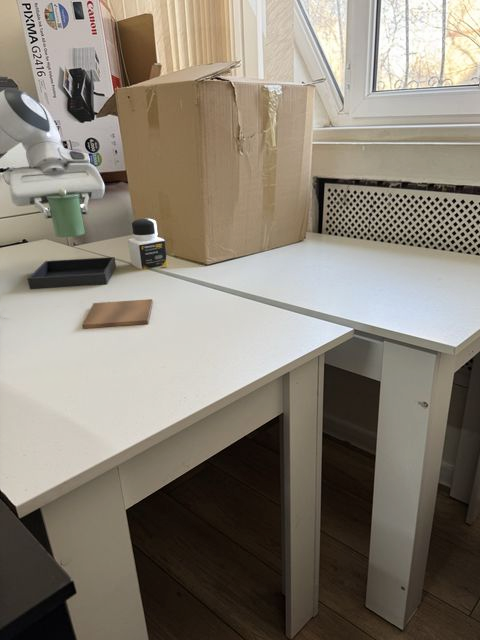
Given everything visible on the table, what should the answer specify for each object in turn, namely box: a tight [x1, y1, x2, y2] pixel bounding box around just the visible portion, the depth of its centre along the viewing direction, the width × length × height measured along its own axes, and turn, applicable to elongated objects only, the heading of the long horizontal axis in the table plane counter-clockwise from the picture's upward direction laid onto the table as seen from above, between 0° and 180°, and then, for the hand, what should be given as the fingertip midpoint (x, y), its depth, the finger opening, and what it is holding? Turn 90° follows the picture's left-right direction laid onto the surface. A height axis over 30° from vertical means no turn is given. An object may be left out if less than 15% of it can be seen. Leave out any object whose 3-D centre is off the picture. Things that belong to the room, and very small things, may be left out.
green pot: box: [46, 189, 86, 238], centre depth 114 cm, size 7×7×10 cm
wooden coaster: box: [81, 298, 154, 329], centre depth 100 cm, size 12×12×1 cm
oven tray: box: [27, 256, 117, 290], centre depth 123 cm, size 17×15×3 cm
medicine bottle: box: [127, 218, 168, 270], centre depth 130 cm, size 7×7×12 cm
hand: (67, 214), depth 114 cm, fingers closed on green pot, 6 cm apart
